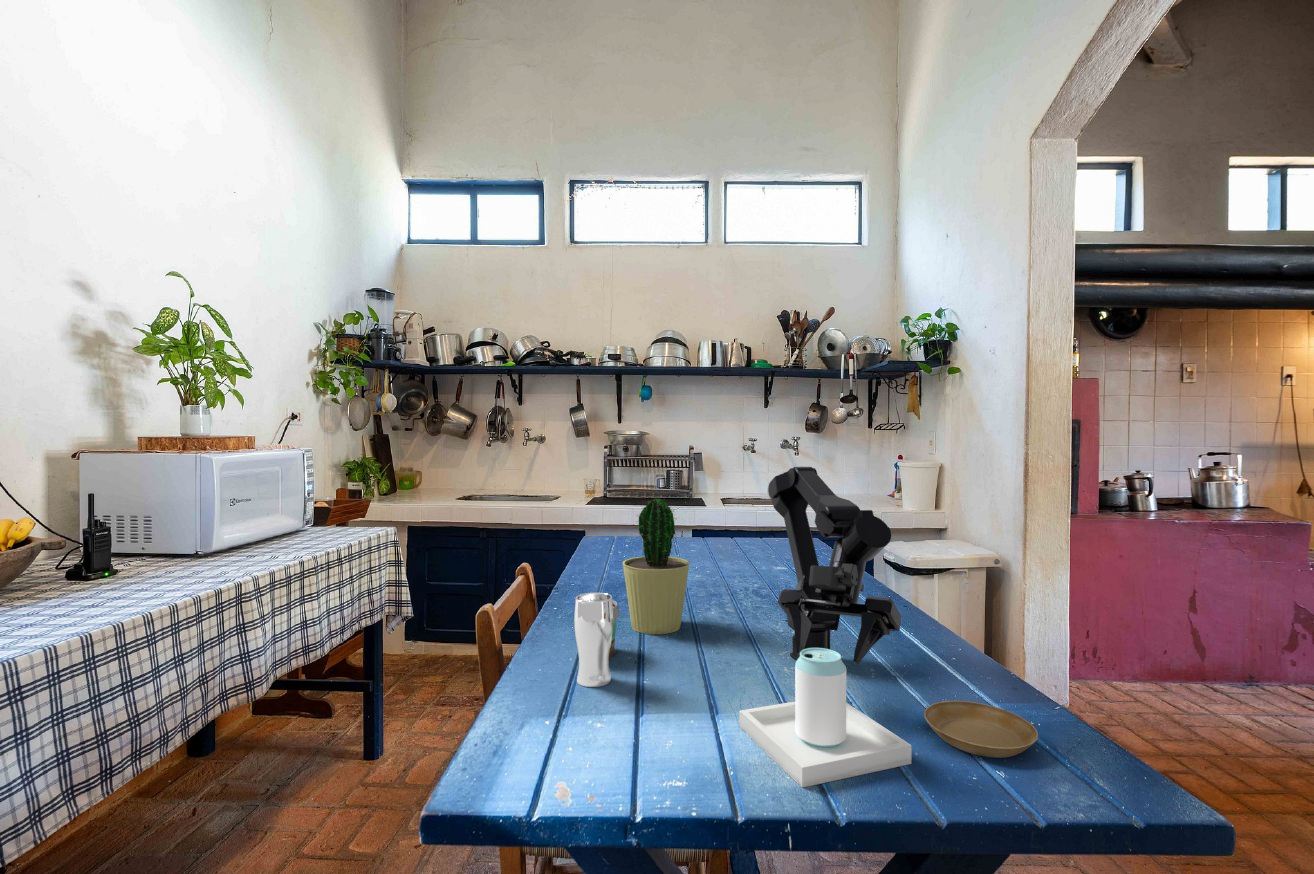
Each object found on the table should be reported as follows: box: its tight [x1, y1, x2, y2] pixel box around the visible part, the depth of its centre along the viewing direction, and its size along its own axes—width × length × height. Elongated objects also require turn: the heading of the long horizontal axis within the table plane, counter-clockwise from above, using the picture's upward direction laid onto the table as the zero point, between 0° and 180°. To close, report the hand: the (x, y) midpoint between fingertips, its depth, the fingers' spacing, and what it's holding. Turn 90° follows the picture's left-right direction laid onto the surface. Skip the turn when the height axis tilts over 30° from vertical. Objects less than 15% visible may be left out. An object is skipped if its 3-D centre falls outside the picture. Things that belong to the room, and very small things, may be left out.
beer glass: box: [573, 592, 613, 688], centre depth 111 cm, size 7×7×15 cm
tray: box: [738, 701, 912, 788], centre depth 88 cm, size 17×17×2 cm
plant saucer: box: [923, 700, 1039, 759], centre depth 90 cm, size 15×15×3 cm
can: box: [794, 648, 847, 748], centre depth 88 cm, size 7×7×12 cm
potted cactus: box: [622, 496, 690, 635], centre depth 142 cm, size 15×15×30 cm
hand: (826, 658), depth 95 cm, fingers open, 9 cm apart
